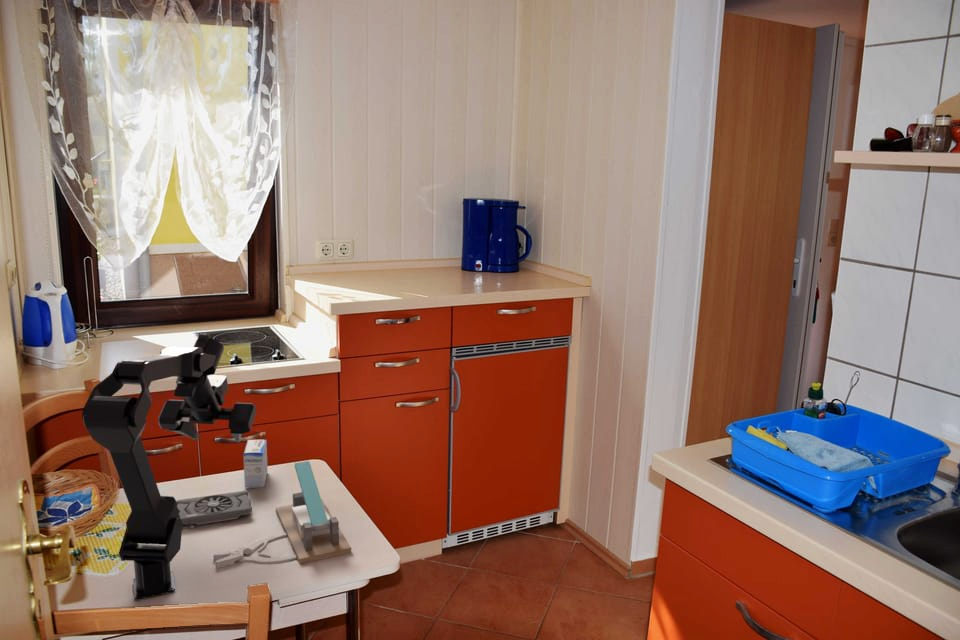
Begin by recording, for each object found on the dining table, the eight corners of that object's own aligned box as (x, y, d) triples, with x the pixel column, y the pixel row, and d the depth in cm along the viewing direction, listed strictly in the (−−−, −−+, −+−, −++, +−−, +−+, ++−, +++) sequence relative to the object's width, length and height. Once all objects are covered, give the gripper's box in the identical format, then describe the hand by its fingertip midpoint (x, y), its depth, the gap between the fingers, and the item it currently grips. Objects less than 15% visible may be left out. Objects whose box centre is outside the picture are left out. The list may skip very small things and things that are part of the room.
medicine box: (248, 473, 177) (246, 439, 175) (268, 472, 178) (266, 438, 176) (244, 488, 170) (242, 453, 168) (264, 487, 170) (263, 452, 168)
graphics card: (166, 525, 147) (165, 496, 158) (167, 541, 148) (166, 512, 159) (254, 511, 154) (248, 485, 164) (255, 528, 155) (248, 501, 165)
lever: (329, 529, 144) (330, 525, 144) (313, 533, 143) (313, 529, 142) (309, 464, 156) (309, 460, 156) (293, 466, 155) (294, 462, 154)
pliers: (300, 551, 142) (218, 571, 135) (301, 559, 142) (219, 579, 136) (287, 528, 151) (209, 545, 144) (288, 535, 151) (210, 552, 144)
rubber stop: (312, 515, 158) (311, 494, 157) (295, 518, 157) (294, 497, 156) (310, 510, 160) (309, 490, 159) (293, 514, 159) (292, 493, 158)
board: (351, 552, 145) (350, 524, 143) (299, 563, 140) (298, 535, 139) (322, 503, 164) (321, 477, 162) (275, 511, 159) (274, 486, 158)
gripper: (255, 364, 153) (270, 410, 164) (166, 361, 154) (187, 407, 165) (240, 408, 145) (257, 453, 156) (146, 404, 146) (170, 449, 157)
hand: (218, 439), depth 159 cm, fingers open, 9 cm apart
